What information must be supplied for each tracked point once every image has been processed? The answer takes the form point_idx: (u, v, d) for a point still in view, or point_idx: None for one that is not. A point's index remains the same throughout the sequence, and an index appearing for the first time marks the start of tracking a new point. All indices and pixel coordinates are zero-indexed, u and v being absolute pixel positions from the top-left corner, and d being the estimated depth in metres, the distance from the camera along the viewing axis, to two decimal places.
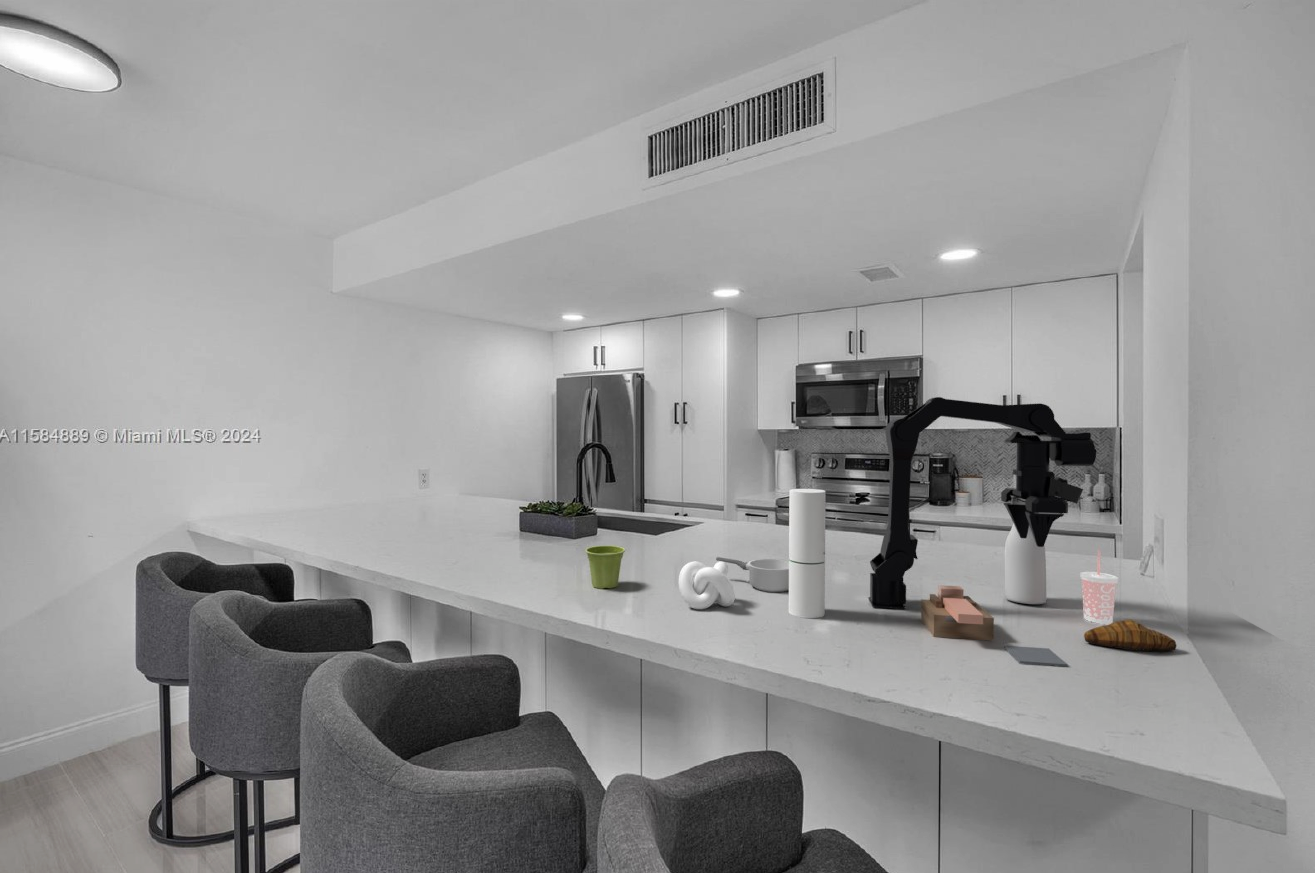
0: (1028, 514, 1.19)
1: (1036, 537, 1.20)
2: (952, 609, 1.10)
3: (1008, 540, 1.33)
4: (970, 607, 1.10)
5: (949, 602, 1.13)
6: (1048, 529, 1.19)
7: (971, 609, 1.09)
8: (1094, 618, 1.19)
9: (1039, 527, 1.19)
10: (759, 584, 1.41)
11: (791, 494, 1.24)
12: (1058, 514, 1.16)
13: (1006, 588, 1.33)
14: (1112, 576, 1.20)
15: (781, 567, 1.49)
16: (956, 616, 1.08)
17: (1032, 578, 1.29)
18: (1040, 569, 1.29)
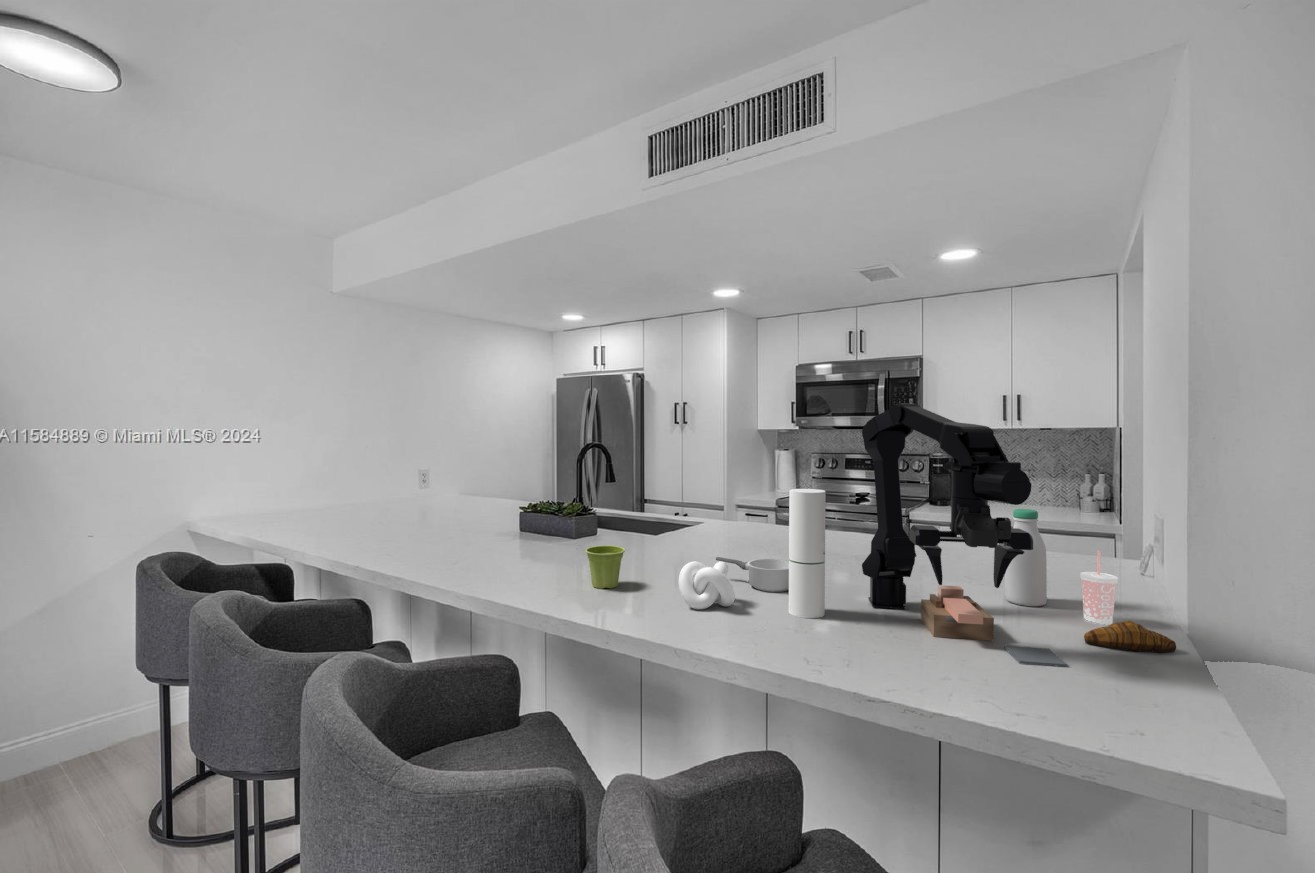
0: None
1: (935, 573, 1.09)
2: (952, 609, 1.10)
3: None
4: (970, 607, 1.10)
5: (949, 602, 1.13)
6: (934, 565, 1.08)
7: (971, 609, 1.09)
8: (1094, 618, 1.19)
9: (932, 561, 1.09)
10: (759, 583, 1.41)
11: (791, 494, 1.24)
12: (922, 547, 1.07)
13: (1006, 589, 1.33)
14: (1112, 576, 1.20)
15: (781, 567, 1.49)
16: (956, 616, 1.08)
17: (1032, 580, 1.29)
18: (1040, 571, 1.29)
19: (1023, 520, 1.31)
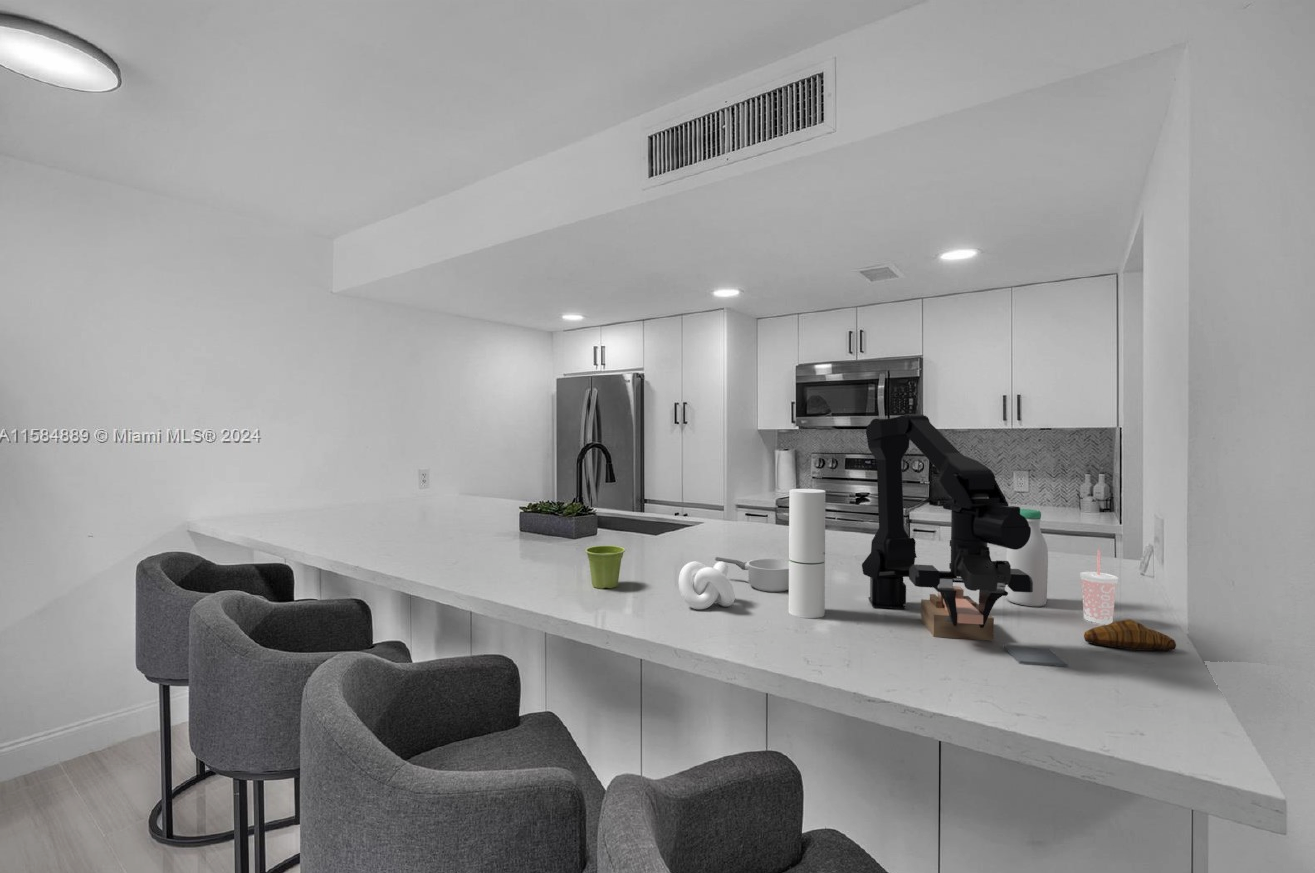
0: None
1: (950, 614, 1.09)
2: None
3: None
4: (970, 607, 1.10)
5: None
6: (948, 606, 1.07)
7: (971, 609, 1.09)
8: (1094, 618, 1.19)
9: (946, 602, 1.09)
10: (758, 583, 1.41)
11: (791, 494, 1.24)
12: (937, 588, 1.07)
13: (1006, 589, 1.33)
14: (1112, 576, 1.20)
15: (780, 567, 1.49)
16: None
17: (1033, 580, 1.29)
18: (1041, 571, 1.29)
19: None
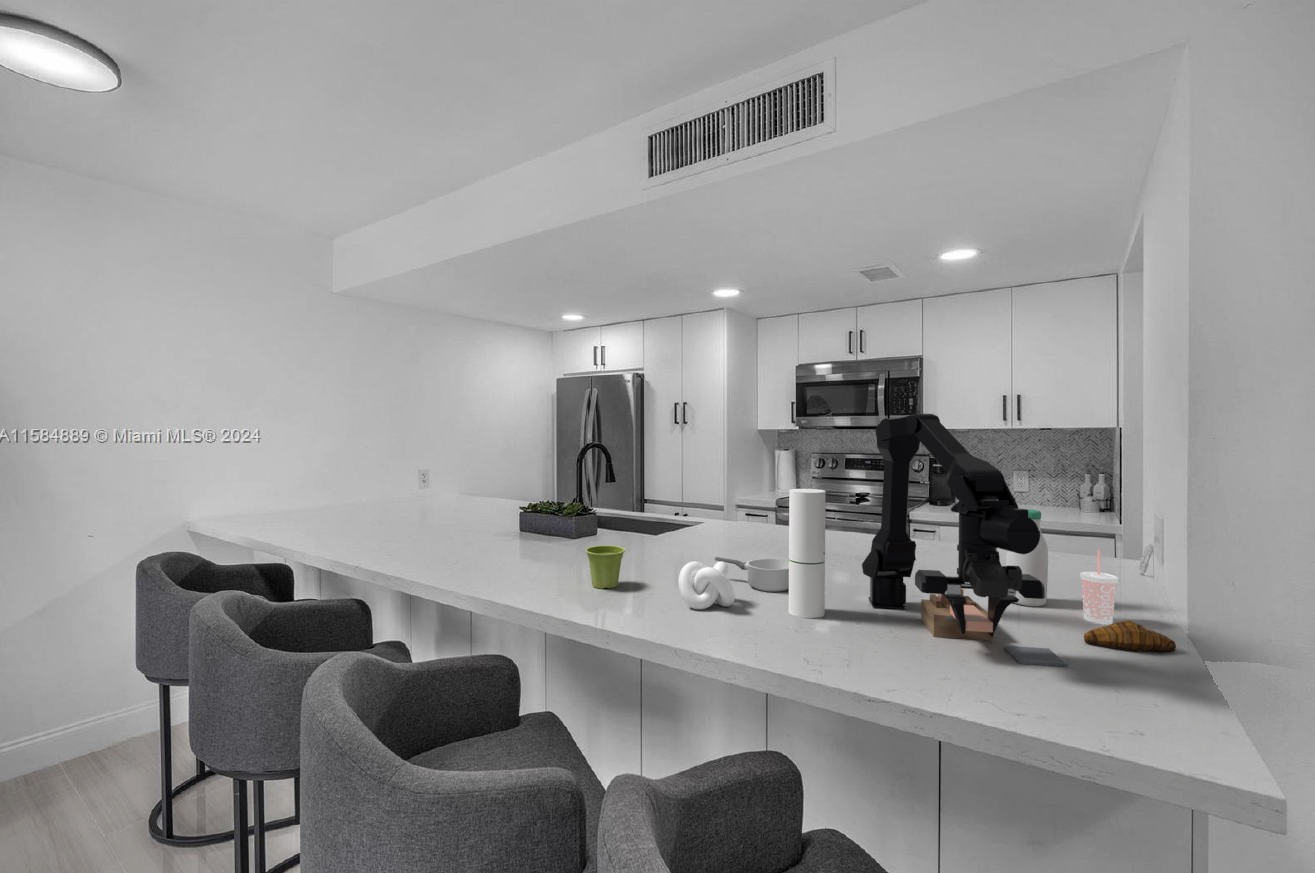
0: None
1: (958, 621, 1.05)
2: None
3: None
4: (979, 614, 1.06)
5: None
6: (956, 613, 1.03)
7: (980, 617, 1.04)
8: (1094, 618, 1.19)
9: (954, 608, 1.04)
10: (758, 583, 1.41)
11: (791, 494, 1.24)
12: (944, 594, 1.02)
13: None
14: (1112, 576, 1.20)
15: (780, 567, 1.49)
16: None
17: None
18: (1041, 571, 1.29)
19: None
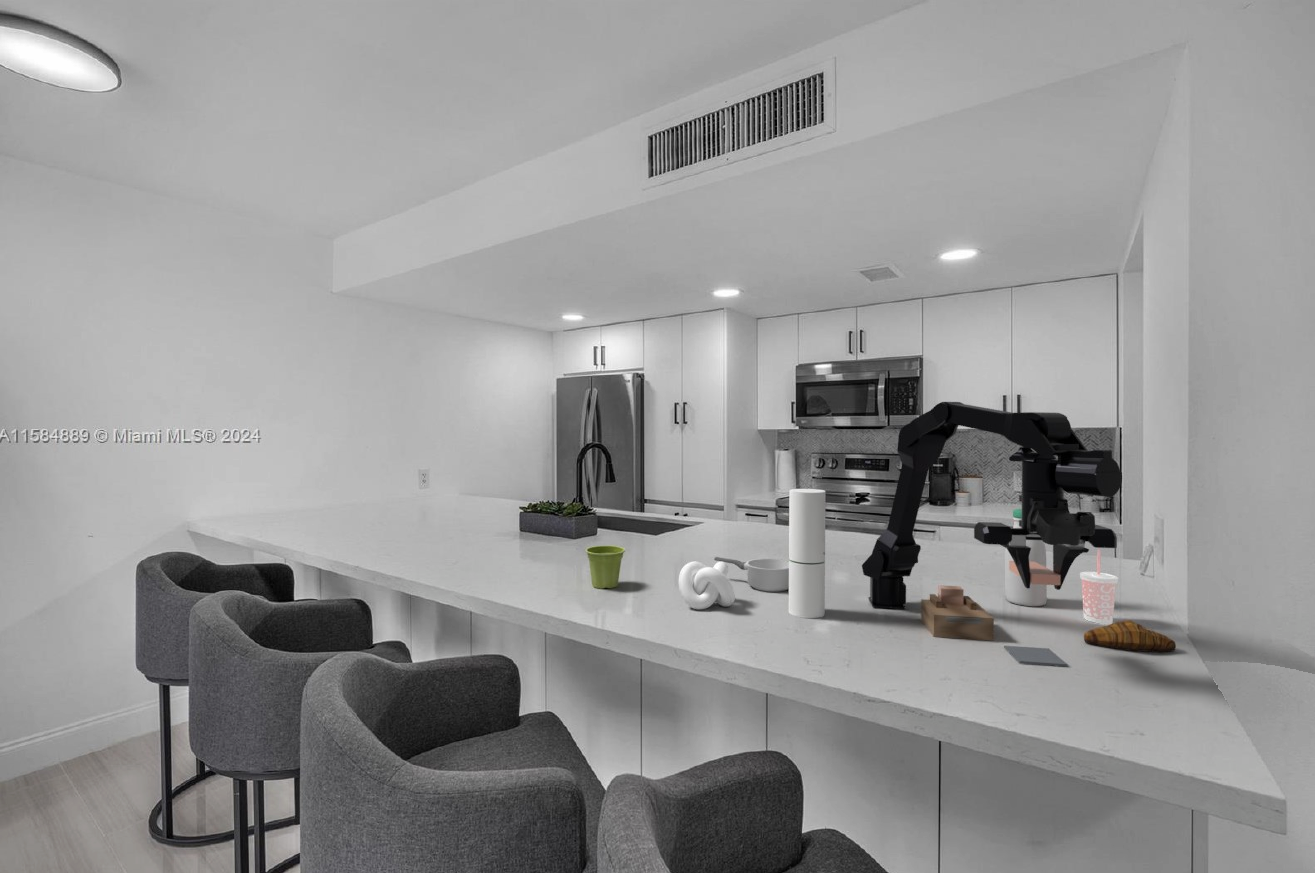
0: None
1: (1021, 575, 0.99)
2: None
3: None
4: (1043, 568, 1.00)
5: None
6: (1021, 566, 0.98)
7: (1045, 570, 0.99)
8: (1094, 618, 1.19)
9: (1017, 562, 0.99)
10: (757, 583, 1.41)
11: (791, 494, 1.24)
12: (1008, 546, 0.97)
13: (1006, 589, 1.33)
14: (1112, 576, 1.20)
15: (779, 567, 1.49)
16: None
17: None
18: None
19: None
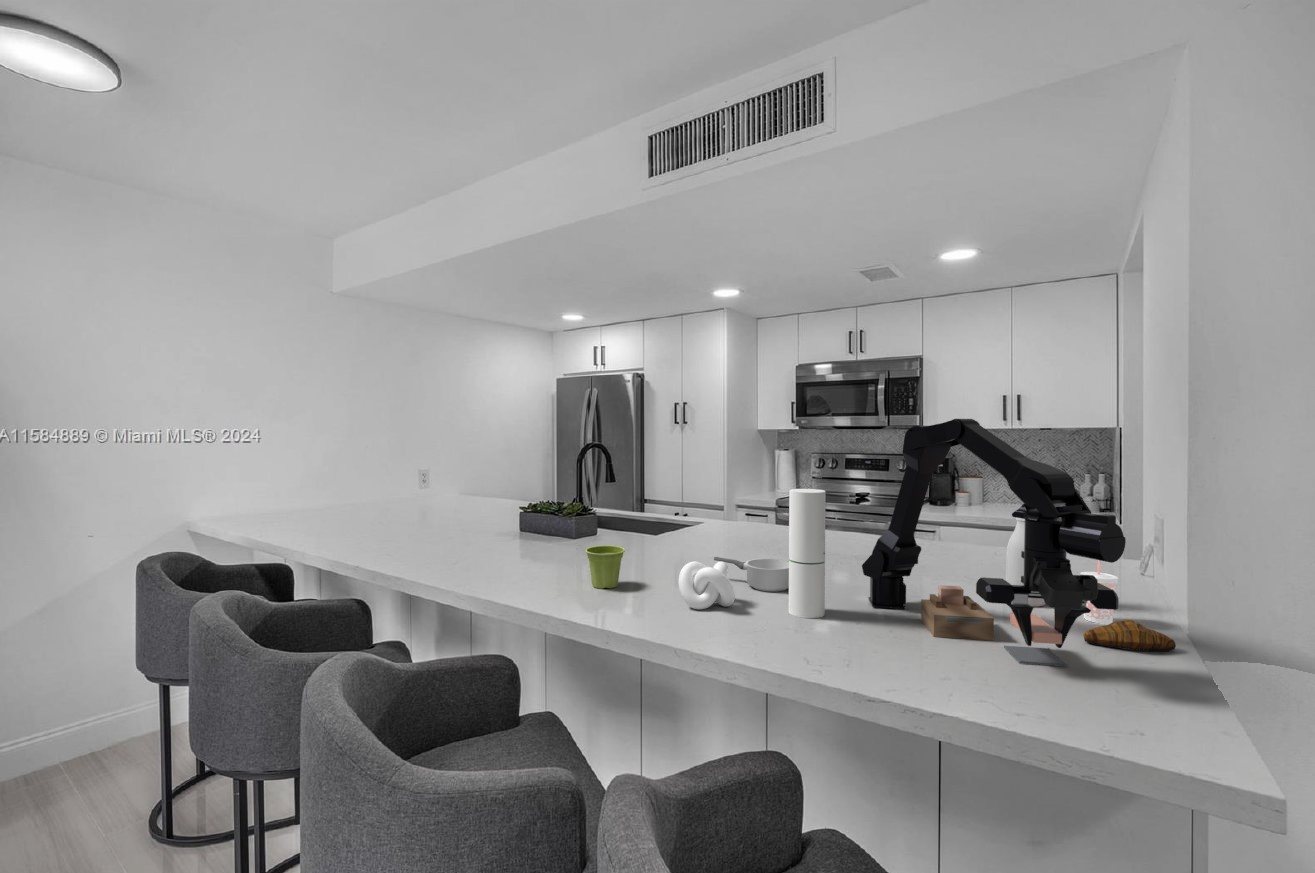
0: None
1: (1023, 632, 0.99)
2: None
3: (1010, 542, 1.33)
4: (1044, 624, 1.01)
5: None
6: (1022, 624, 0.98)
7: (1046, 627, 0.99)
8: (1094, 618, 1.19)
9: (1019, 619, 0.99)
10: (757, 583, 1.41)
11: (791, 494, 1.24)
12: (1010, 604, 0.97)
13: None
14: (1112, 576, 1.20)
15: (778, 567, 1.49)
16: None
17: None
18: None
19: None
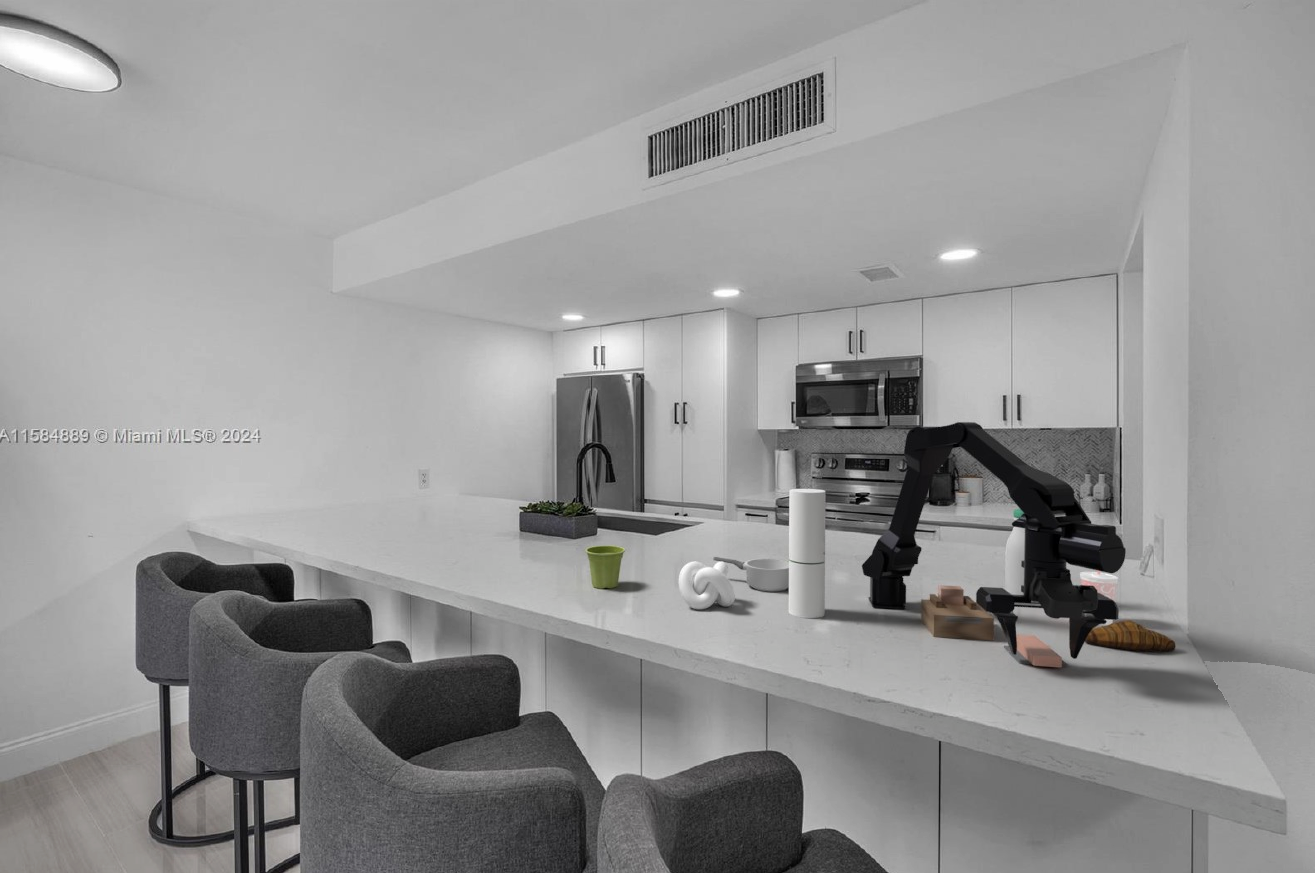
0: None
1: (1008, 640, 1.00)
2: (1024, 649, 1.01)
3: (1008, 542, 1.33)
4: (1044, 646, 1.01)
5: (1019, 640, 1.04)
6: (1007, 632, 0.98)
7: (1046, 650, 0.99)
8: None
9: (1004, 627, 1.00)
10: (756, 583, 1.41)
11: (791, 494, 1.24)
12: (995, 613, 0.98)
13: (1006, 589, 1.33)
14: (1112, 576, 1.20)
15: (778, 567, 1.49)
16: (1030, 657, 0.98)
17: None
18: None
19: None
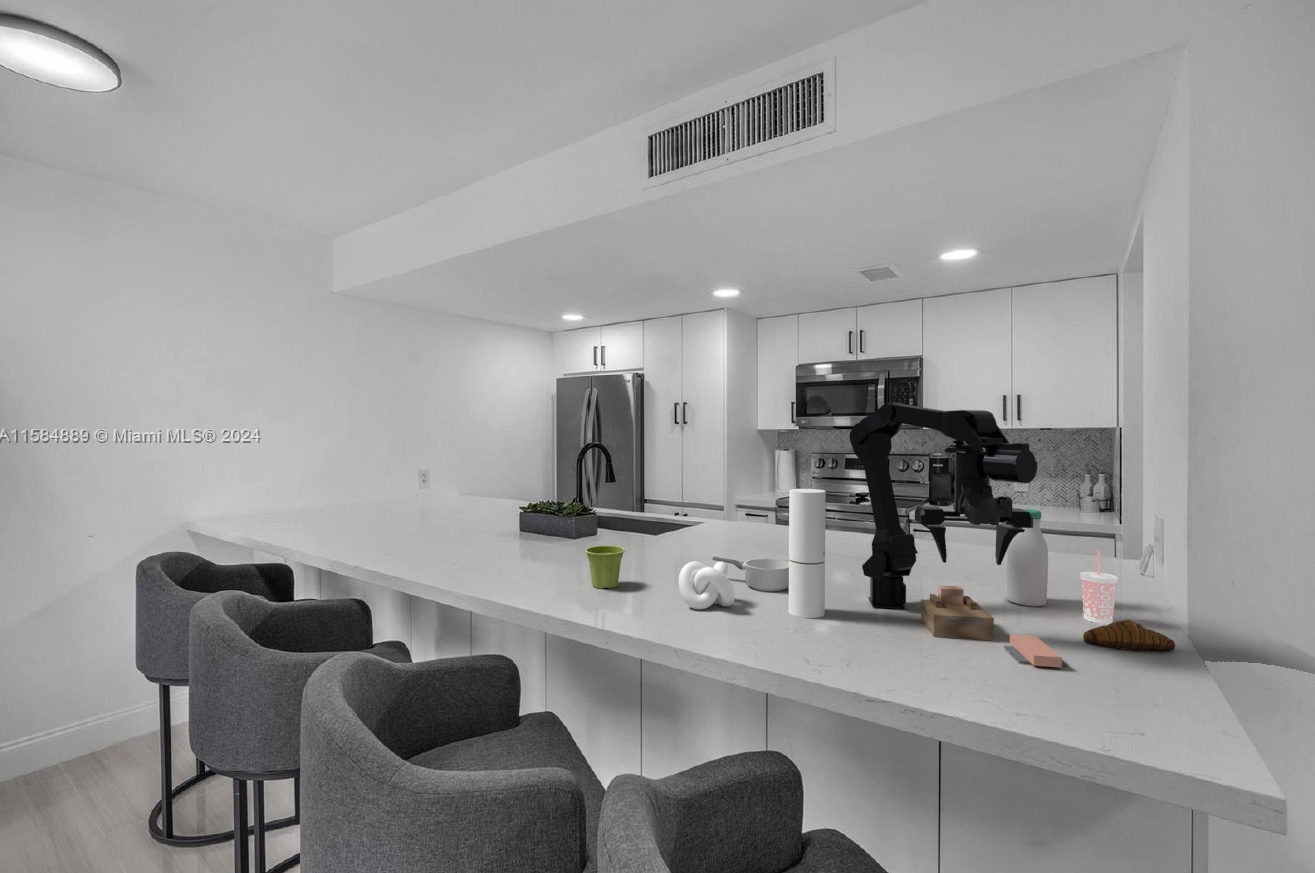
0: None
1: (940, 551, 1.14)
2: (1024, 649, 1.01)
3: None
4: (1044, 646, 1.01)
5: (1019, 640, 1.04)
6: (938, 543, 1.13)
7: (1046, 650, 0.99)
8: (1094, 618, 1.19)
9: (936, 540, 1.14)
10: (755, 583, 1.41)
11: (791, 494, 1.24)
12: (927, 526, 1.12)
13: (1006, 588, 1.34)
14: (1112, 576, 1.20)
15: (777, 567, 1.50)
16: (1030, 657, 0.98)
17: (1032, 580, 1.29)
18: (1041, 571, 1.29)
19: None
